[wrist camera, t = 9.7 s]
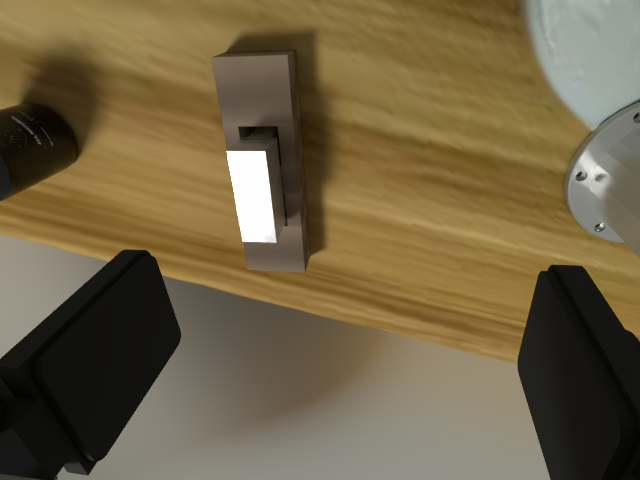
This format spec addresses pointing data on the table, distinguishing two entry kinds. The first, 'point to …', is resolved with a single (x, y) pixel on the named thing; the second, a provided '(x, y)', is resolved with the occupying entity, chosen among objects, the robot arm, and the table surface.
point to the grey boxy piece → (258, 185)
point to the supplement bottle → (32, 146)
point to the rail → (283, 111)
